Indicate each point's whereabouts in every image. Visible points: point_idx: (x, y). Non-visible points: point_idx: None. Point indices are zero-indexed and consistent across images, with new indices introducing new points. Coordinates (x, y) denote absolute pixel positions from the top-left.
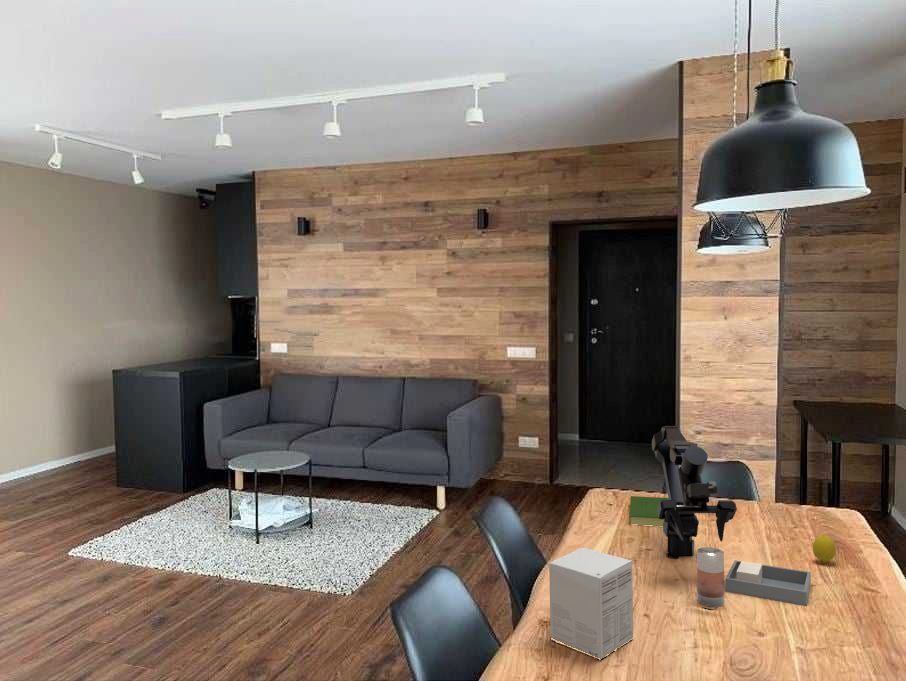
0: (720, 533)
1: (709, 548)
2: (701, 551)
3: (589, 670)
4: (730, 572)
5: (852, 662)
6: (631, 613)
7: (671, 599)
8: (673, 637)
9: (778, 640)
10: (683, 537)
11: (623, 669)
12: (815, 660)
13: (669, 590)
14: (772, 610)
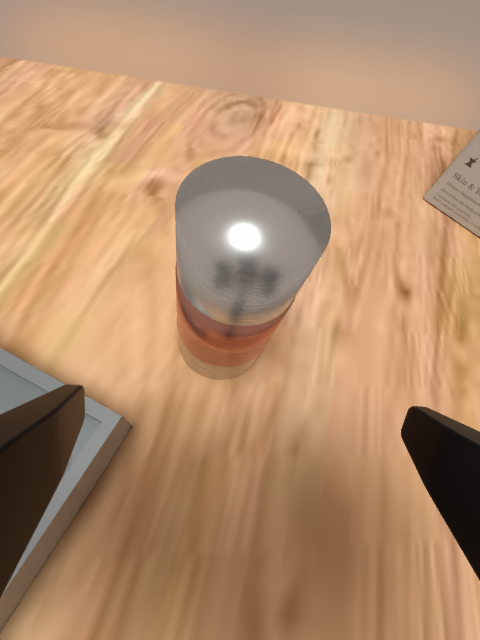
0: (51, 411)
1: (244, 257)
2: (307, 219)
3: (473, 135)
4: (50, 504)
5: (28, 85)
6: (468, 144)
7: (333, 385)
8: (347, 196)
9: (127, 161)
10: (428, 410)
11: (427, 130)
12: (99, 100)
13: (333, 466)
14: (34, 294)
